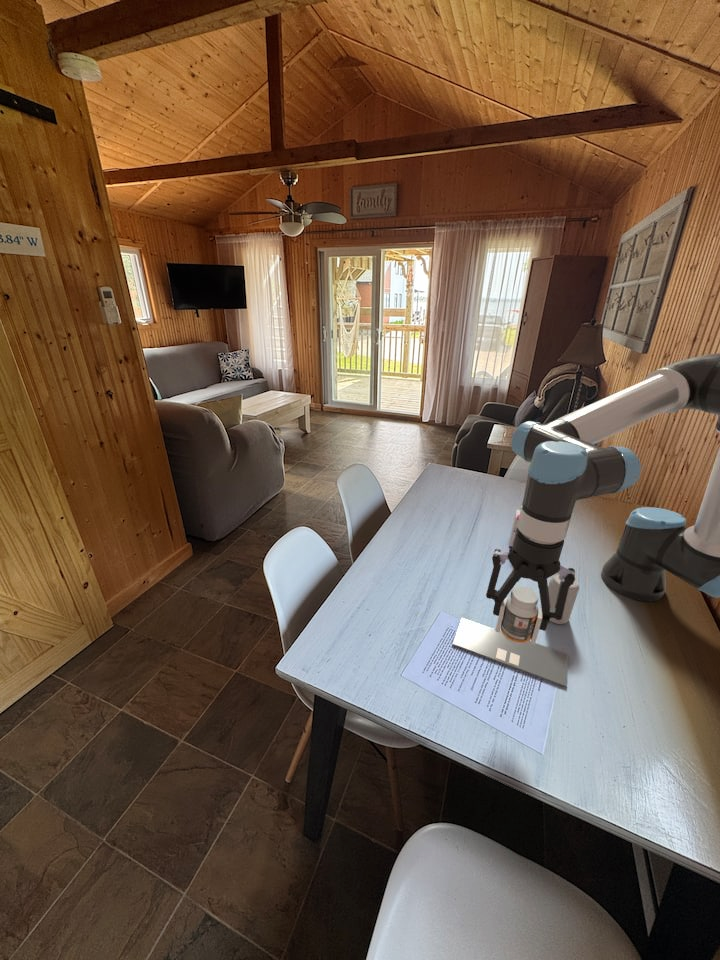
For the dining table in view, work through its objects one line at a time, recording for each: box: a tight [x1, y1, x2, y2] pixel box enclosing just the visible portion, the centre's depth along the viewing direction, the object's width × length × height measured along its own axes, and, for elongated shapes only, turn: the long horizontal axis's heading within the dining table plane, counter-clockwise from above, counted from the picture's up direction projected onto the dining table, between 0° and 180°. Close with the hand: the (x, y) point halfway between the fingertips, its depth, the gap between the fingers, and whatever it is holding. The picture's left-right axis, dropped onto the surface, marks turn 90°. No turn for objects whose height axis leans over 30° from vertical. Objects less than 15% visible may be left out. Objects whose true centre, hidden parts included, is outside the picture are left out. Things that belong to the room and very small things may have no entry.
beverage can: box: [548, 573, 580, 625], centre depth 97 cm, size 6×6×12 cm
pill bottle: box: [500, 585, 539, 644], centre depth 74 cm, size 6×6×10 cm
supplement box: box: [508, 509, 521, 548], centre depth 125 cm, size 6×6×12 cm
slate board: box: [451, 617, 568, 689], centre depth 90 cm, size 24×9×1 cm, turn 63°
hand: (515, 632), depth 76 cm, fingers closed on pill bottle, 6 cm apart
